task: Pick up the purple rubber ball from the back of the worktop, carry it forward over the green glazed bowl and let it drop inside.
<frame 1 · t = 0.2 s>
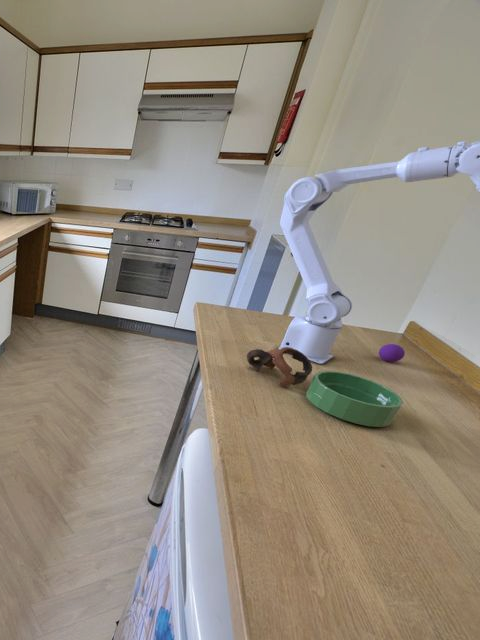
bowl: (345, 408, 82), on the countertop
ball: (391, 352, 102), point 2 cm above the countertop
brown curved loop: (270, 377, 93), on the countertop
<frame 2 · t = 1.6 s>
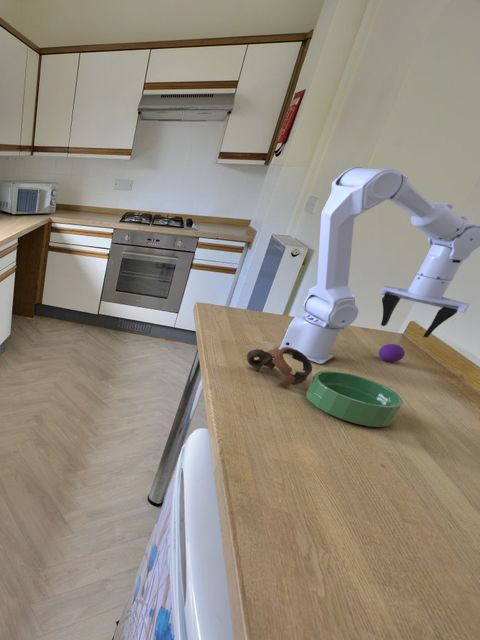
hand: (404, 330, 100), 8 cm above the countertop, tool pointing down, fingers open, 7 cm apart
nothing on the countertop moved.
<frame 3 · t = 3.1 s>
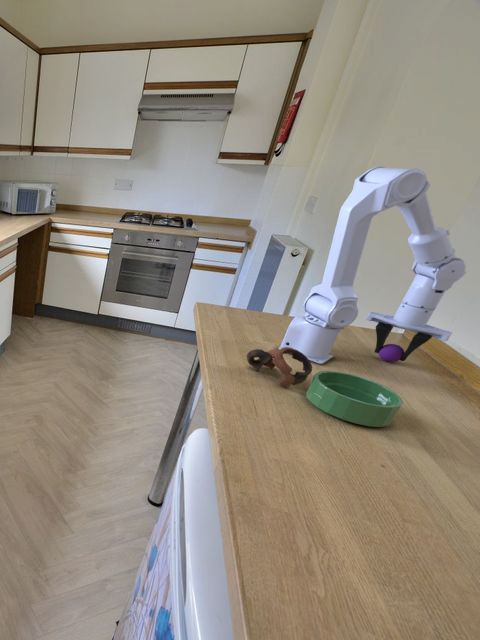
hand: (389, 355, 103), 1 cm above the countertop, tool pointing down, fingers closed on ball, 4 cm apart
ball: (391, 352, 102), point 2 cm above the countertop, touching gripper
everything else where it was.
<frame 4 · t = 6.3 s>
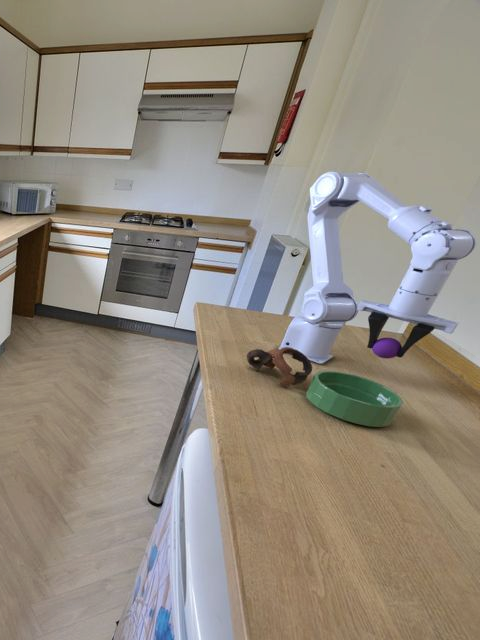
hand: (385, 351, 88), 8 cm above the countertop, tool pointing down, fingers closed on ball, 4 cm apart
ball: (386, 347, 87), point 9 cm above the countertop, touching gripper
everything else where it was.
when the fingers open (4 cm above the countertop, at t = 9.6 s): ball drops 2 cm, resting on bowl.
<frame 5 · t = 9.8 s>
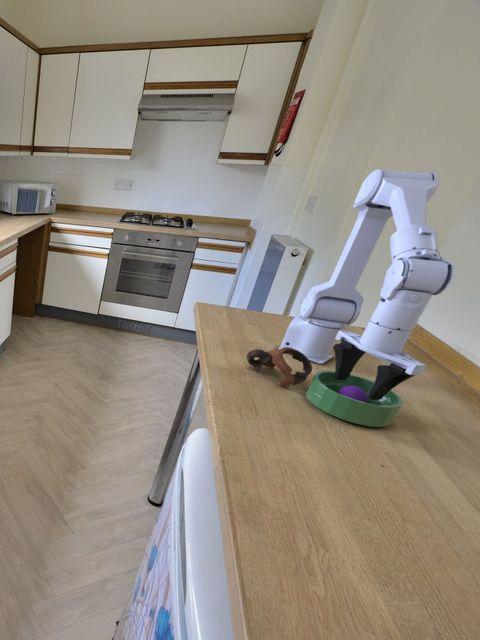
hand: (356, 388, 80), 5 cm above the countertop, tool pointing down, fingers open, 6 cm apart
ball: (352, 396, 81), point 3 cm above the countertop, touching bowl
everything else where it was.
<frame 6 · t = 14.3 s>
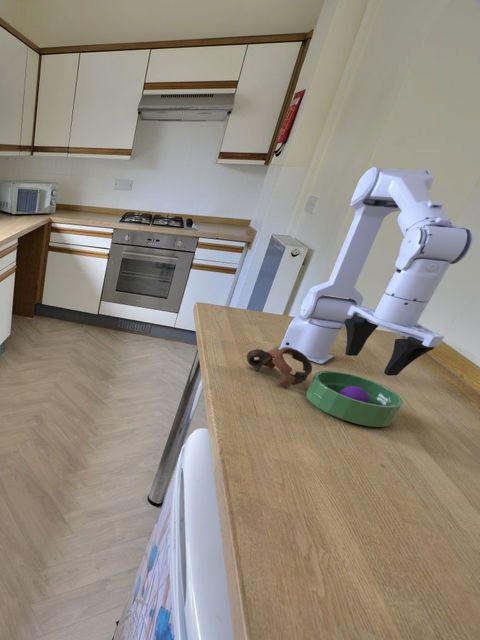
hand: (369, 364, 78), 10 cm above the countertop, tool pointing down, fingers open, 7 cm apart
ball: (353, 397, 80), point 3 cm above the countertop, tilted 7°, touching bowl
everything else where it was.
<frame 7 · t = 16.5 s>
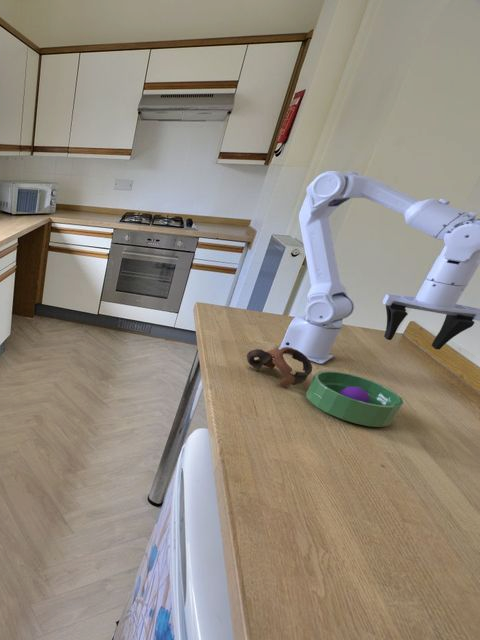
hand: (410, 342, 87), 10 cm above the countertop, tool pointing down, fingers open, 7 cm apart
nothing on the countertop moved.
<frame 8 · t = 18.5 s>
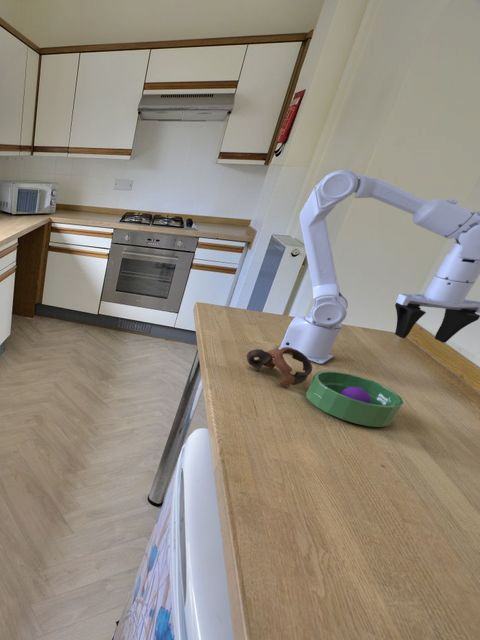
hand: (419, 338, 90), 10 cm above the countertop, tool pointing down, fingers open, 7 cm apart
nothing on the countertop moved.
at the end: ball inside the target area in the bowl (0.5 cm from its centre), point 2.8 cm above the bowl's base; the gripper is holding nothing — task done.
